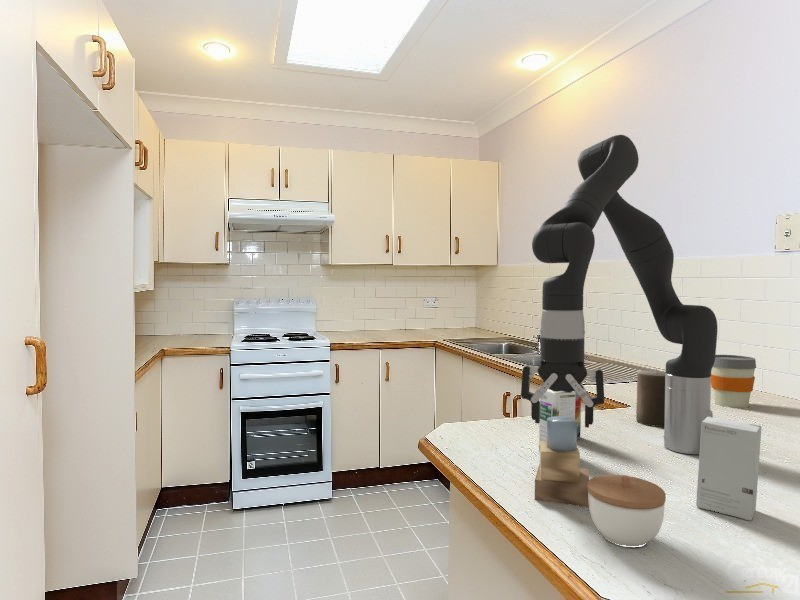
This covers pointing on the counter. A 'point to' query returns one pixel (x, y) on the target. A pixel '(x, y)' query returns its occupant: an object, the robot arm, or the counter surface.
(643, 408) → the pillar candle
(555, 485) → the walnut slab
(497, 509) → the counter surface
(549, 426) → the blue rounded cylinder
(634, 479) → the lidded jar
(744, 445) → the skincare box
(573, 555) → the counter surface
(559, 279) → the robot arm
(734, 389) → the reusable coffee cup
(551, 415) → the syrup box
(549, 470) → the oak block
